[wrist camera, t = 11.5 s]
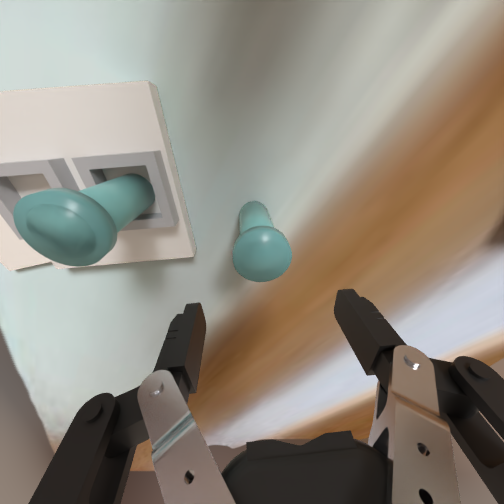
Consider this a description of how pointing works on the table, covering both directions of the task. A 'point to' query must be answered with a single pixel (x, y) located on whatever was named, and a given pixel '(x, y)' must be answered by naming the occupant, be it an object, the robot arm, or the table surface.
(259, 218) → the teal round-knobbed peg
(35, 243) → the teal flared handle
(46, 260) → the lid
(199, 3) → the table surface
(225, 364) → the table surface
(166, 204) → the housing
